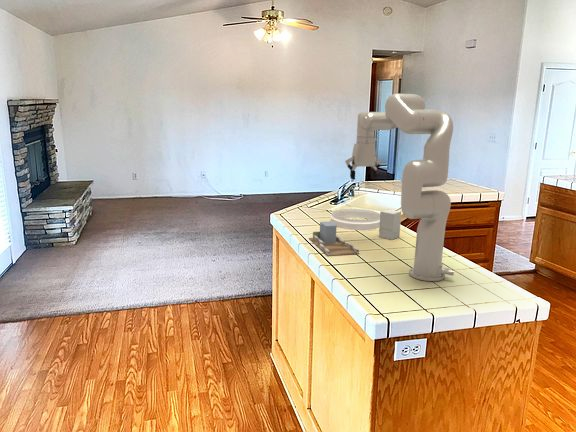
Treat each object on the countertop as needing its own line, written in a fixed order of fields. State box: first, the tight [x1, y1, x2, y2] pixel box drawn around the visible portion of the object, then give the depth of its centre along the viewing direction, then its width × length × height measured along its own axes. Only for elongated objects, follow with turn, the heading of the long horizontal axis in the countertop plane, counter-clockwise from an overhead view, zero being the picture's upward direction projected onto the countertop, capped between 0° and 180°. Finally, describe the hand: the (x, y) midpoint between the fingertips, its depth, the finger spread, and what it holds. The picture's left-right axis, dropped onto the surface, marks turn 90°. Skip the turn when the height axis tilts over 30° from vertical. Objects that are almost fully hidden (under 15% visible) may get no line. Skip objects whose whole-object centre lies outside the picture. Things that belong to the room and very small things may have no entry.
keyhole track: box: [308, 230, 360, 257], centre depth 200 cm, size 26×14×3 cm, turn 14°
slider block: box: [319, 221, 338, 244], centre depth 206 cm, size 8×5×8 cm, turn 14°
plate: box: [329, 208, 380, 231], centre depth 241 cm, size 27×27×6 cm
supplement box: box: [378, 208, 402, 241], centre depth 215 cm, size 7×7×13 cm
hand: (362, 179), depth 205 cm, fingers open, 9 cm apart
